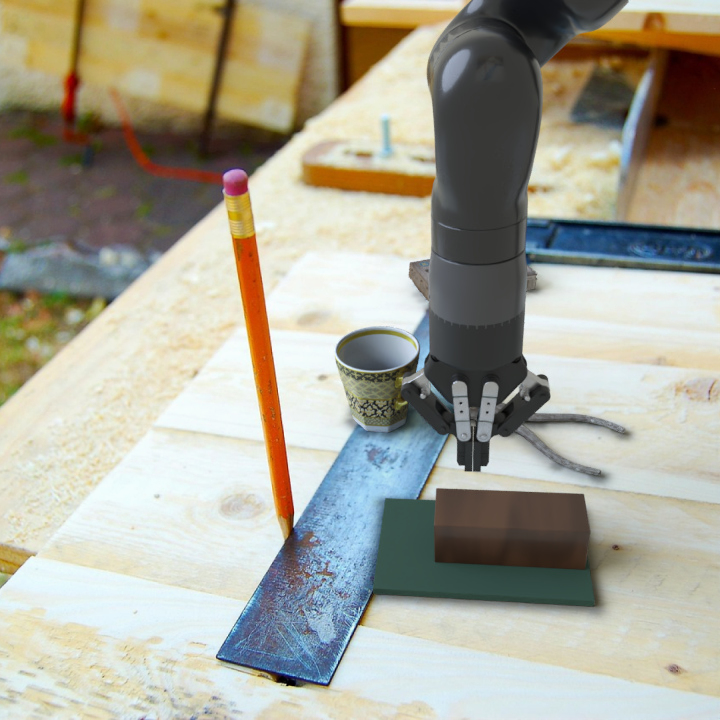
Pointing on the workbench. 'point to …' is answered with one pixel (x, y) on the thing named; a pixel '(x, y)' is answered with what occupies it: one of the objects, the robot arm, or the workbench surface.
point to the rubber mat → (461, 567)
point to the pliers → (557, 417)
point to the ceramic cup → (376, 374)
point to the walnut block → (511, 528)
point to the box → (421, 271)
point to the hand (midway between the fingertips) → (472, 465)
